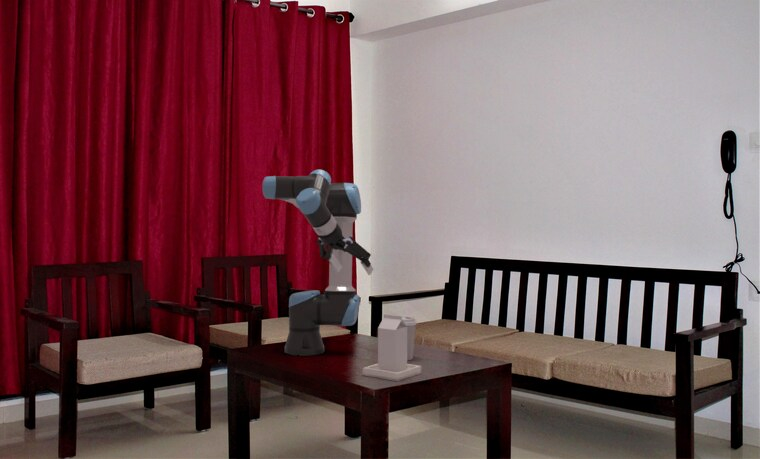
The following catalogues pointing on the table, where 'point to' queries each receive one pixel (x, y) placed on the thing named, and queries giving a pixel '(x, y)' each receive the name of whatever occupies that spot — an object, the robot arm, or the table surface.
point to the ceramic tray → (374, 372)
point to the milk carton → (392, 344)
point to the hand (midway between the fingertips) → (355, 270)
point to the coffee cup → (410, 335)
